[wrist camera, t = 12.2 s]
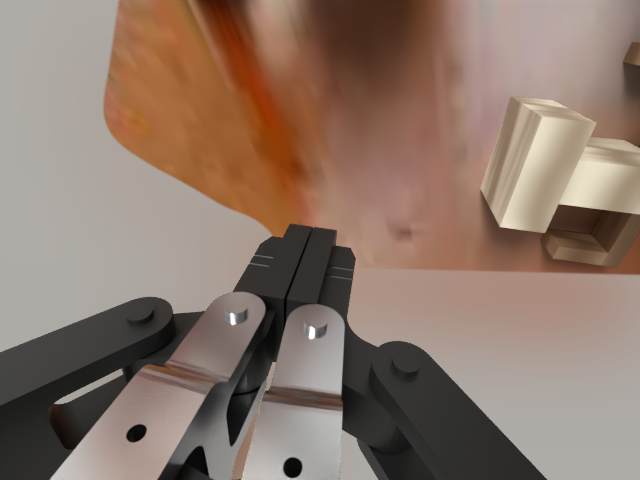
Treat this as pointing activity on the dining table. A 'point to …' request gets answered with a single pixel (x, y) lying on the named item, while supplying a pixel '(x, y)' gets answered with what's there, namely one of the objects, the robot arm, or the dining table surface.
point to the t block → (556, 166)
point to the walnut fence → (598, 227)
